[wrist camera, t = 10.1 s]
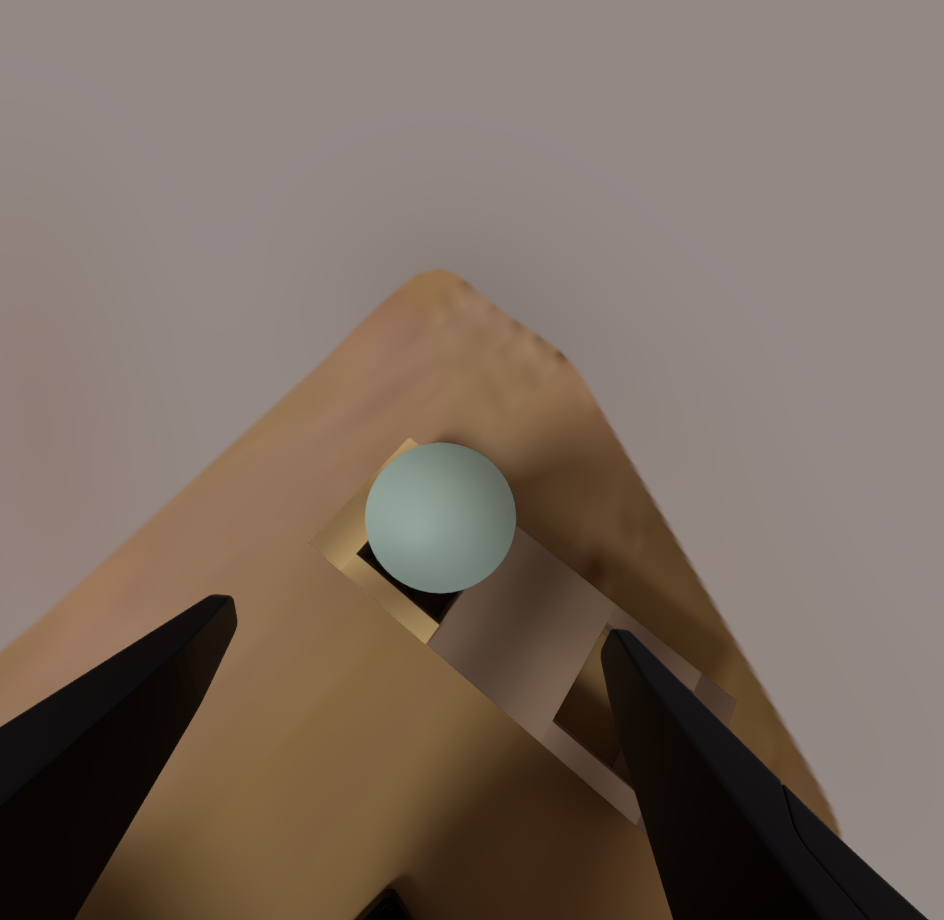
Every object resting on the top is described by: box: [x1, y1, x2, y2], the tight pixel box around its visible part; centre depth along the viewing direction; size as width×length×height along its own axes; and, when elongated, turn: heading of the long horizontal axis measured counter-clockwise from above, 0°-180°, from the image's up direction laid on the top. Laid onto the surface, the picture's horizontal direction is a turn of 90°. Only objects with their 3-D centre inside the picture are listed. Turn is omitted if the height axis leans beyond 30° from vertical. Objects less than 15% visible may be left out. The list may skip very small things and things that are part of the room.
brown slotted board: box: [309, 437, 737, 836], centre depth 19 cm, size 21×7×3 cm, turn 52°
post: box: [365, 443, 516, 593], centre depth 15 cm, size 4×4×13 cm
